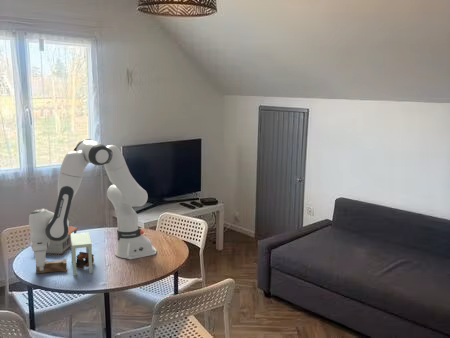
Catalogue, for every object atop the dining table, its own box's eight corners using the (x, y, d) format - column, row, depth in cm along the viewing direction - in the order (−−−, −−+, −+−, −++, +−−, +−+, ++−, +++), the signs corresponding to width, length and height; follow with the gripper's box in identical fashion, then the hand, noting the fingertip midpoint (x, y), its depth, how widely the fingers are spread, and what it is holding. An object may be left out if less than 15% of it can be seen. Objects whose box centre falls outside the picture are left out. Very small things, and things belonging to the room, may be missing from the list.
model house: (61, 256, 233) (60, 229, 230) (34, 255, 233) (32, 228, 231) (78, 241, 256) (77, 217, 253) (53, 240, 257) (52, 216, 254)
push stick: (66, 267, 217) (66, 258, 216) (66, 271, 212) (66, 263, 211) (36, 269, 212) (36, 261, 211) (35, 274, 206) (35, 265, 206)
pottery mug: (69, 266, 218) (74, 250, 221) (86, 270, 224) (90, 254, 227) (81, 268, 210) (86, 251, 212) (97, 271, 216) (102, 255, 219)
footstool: (89, 259, 227) (88, 232, 225) (92, 273, 210) (91, 243, 207) (71, 261, 224) (70, 233, 221) (73, 276, 207) (72, 245, 204)
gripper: (33, 235, 216) (35, 261, 218) (32, 249, 197) (34, 277, 199) (47, 234, 218) (48, 259, 220) (46, 247, 199) (48, 275, 202)
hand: (41, 268), depth 210 cm, fingers closed on push stick, 3 cm apart
